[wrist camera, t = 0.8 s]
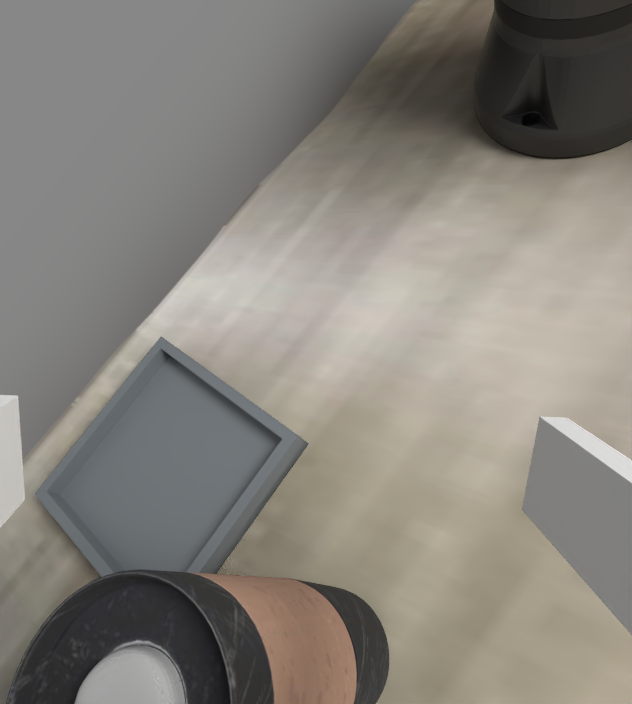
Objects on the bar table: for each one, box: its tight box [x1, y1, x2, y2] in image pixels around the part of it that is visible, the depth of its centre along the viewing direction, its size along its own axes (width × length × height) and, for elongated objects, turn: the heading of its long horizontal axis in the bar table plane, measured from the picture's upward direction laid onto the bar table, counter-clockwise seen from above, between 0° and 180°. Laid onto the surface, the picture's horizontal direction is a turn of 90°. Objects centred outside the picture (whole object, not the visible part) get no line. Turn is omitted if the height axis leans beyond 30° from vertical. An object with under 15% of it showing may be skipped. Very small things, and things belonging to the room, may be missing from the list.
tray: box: [35, 337, 308, 577], centre depth 38 cm, size 16×16×2 cm
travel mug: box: [6, 569, 389, 704], centre depth 22 cm, size 8×8×20 cm
